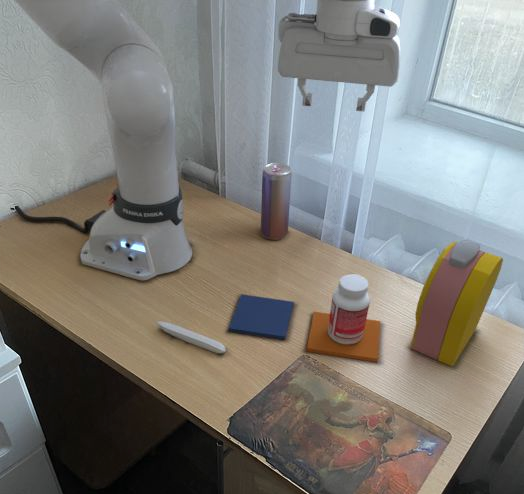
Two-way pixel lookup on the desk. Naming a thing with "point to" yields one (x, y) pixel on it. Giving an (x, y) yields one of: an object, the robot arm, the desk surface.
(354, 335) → the pill bottle
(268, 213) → the beverage can
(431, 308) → the alarm clock
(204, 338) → the pen
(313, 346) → the amber mat
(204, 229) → the desk surface
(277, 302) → the blue mat
